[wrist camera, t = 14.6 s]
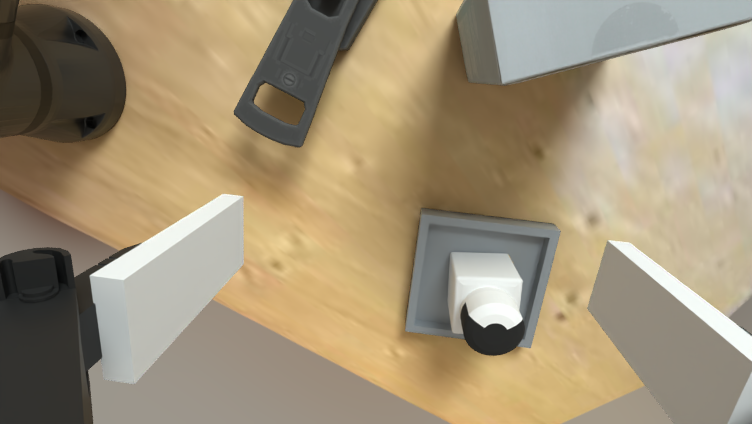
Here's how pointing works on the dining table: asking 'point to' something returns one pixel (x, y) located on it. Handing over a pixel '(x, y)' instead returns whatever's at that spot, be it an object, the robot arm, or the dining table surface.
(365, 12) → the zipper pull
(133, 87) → the dining table surface
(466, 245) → the tray
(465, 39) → the hard drive box
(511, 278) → the medicine bottle
